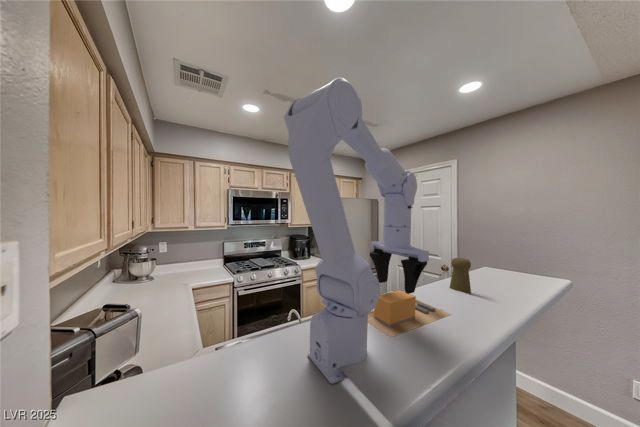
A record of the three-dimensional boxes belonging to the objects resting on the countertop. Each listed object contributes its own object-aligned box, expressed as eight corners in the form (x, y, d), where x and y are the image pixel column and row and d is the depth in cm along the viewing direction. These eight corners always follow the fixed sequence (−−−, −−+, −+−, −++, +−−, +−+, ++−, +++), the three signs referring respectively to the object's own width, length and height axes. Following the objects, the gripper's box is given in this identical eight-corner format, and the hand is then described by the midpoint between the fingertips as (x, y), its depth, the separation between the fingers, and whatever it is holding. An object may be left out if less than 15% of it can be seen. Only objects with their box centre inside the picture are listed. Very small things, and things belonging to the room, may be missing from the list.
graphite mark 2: (431, 312, 55) (432, 309, 55) (417, 305, 59) (417, 303, 59) (435, 310, 56) (435, 308, 56) (420, 304, 59) (420, 302, 59)
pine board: (390, 345, 44) (391, 337, 44) (357, 321, 53) (357, 315, 53) (451, 320, 54) (451, 314, 54) (414, 304, 63) (415, 299, 63)
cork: (475, 298, 68) (476, 261, 68) (452, 296, 70) (454, 259, 69) (466, 290, 74) (467, 256, 74) (446, 289, 76) (447, 255, 75)
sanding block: (389, 327, 48) (390, 303, 48) (374, 318, 52) (374, 296, 51) (414, 318, 52) (415, 296, 52) (398, 310, 56) (399, 290, 55)
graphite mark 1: (425, 314, 54) (425, 311, 54) (411, 307, 57) (411, 305, 57) (428, 313, 55) (428, 310, 55) (414, 306, 58) (414, 304, 58)
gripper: (439, 228, 47) (437, 294, 47) (385, 223, 59) (384, 275, 60) (416, 229, 43) (414, 301, 44) (364, 224, 56) (363, 279, 56)
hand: (395, 286), depth 51 cm, fingers open, 7 cm apart
